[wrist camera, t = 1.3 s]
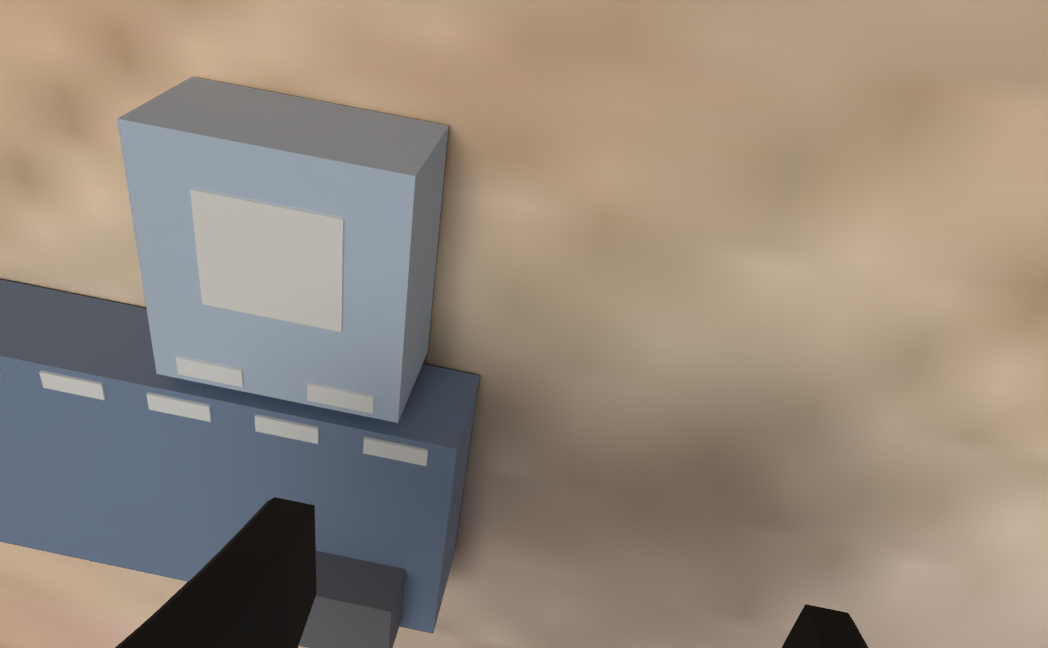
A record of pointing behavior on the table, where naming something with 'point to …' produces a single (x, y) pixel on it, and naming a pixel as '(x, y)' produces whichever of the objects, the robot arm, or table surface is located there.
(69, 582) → the table surface
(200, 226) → the light blue box
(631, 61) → the table surface
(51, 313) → the network switch box
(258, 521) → the robot arm
